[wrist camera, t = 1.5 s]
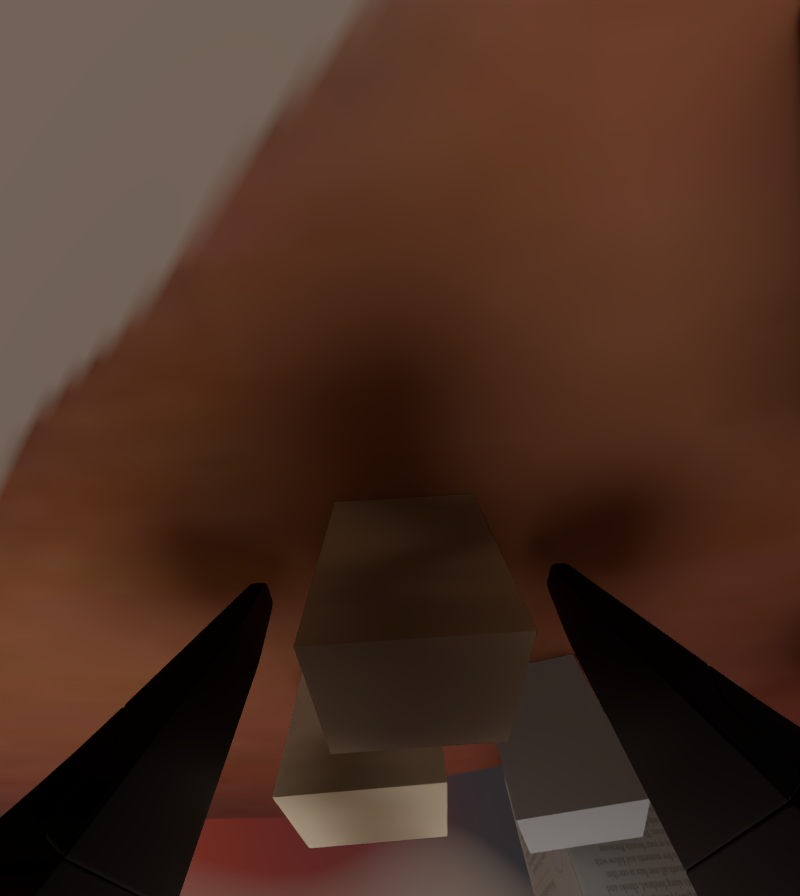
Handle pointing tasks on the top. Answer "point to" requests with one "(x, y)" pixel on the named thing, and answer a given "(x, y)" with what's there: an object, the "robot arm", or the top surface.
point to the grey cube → (568, 764)
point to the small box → (611, 866)
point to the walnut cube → (413, 627)
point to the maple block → (357, 787)
